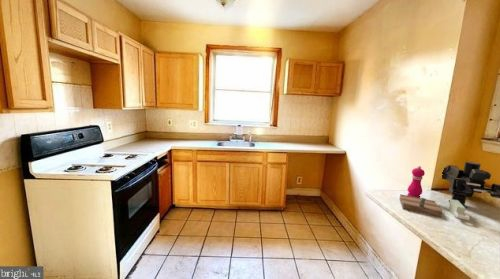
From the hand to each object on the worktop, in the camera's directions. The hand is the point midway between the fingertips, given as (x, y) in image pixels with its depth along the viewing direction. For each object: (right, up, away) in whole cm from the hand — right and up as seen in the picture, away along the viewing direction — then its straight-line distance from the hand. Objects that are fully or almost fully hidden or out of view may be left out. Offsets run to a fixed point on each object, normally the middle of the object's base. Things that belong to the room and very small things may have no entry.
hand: (485, 193), depth 99 cm
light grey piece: (-1, -15, +12) cm, 19 cm away
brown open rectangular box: (-15, -13, +20) cm, 28 cm away
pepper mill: (-8, -11, +33) cm, 35 cm away
